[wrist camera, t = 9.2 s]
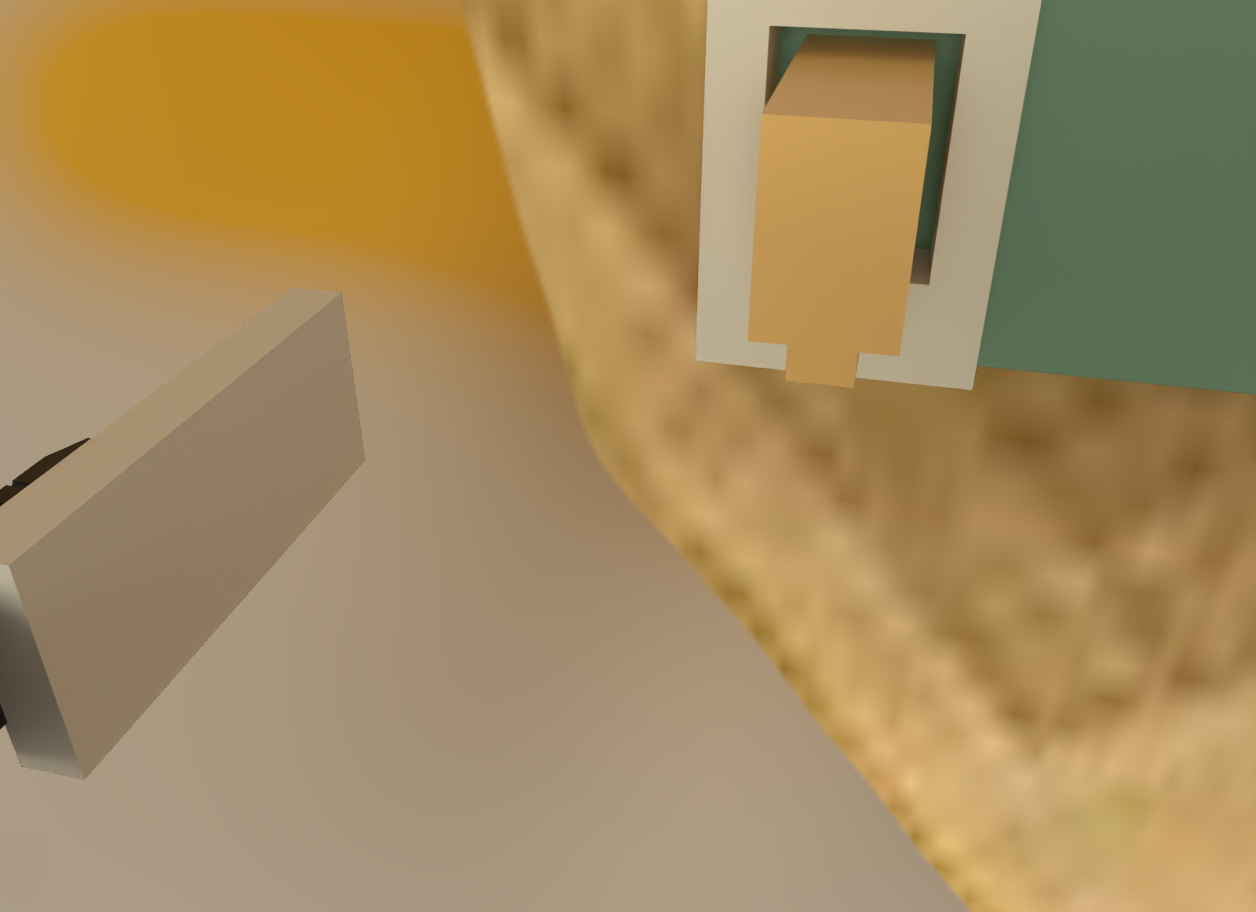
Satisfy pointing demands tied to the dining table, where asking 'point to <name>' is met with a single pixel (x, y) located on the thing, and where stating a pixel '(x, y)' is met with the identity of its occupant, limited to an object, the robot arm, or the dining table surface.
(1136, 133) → the board
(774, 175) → the plug
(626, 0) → the dining table surface
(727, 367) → the dining table surface
